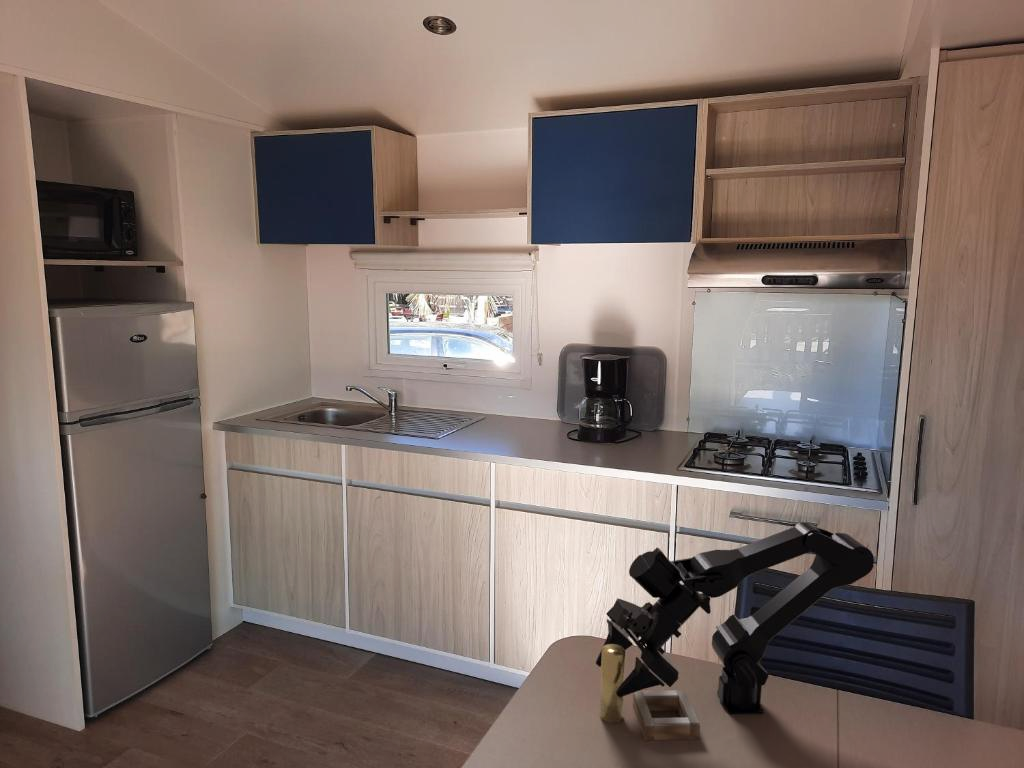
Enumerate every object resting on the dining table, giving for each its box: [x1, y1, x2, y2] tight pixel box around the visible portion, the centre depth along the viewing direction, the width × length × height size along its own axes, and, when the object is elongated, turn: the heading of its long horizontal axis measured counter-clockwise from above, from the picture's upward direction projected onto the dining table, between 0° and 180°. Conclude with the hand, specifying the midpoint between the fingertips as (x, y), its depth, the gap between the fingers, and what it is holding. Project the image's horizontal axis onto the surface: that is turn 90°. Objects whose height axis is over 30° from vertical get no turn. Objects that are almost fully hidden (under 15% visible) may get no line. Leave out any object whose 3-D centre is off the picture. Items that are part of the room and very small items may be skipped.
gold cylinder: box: [599, 644, 626, 724], centre depth 126 cm, size 4×4×12 cm
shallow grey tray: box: [632, 689, 701, 741], centre depth 125 cm, size 9×9×3 cm
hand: (607, 679), depth 126 cm, fingers open, 9 cm apart
